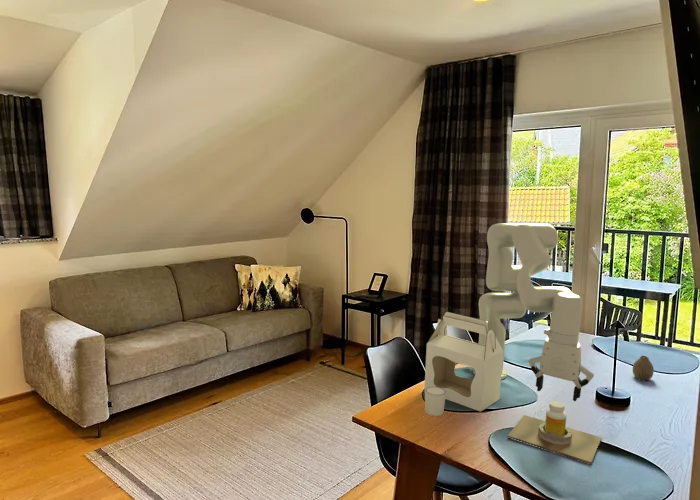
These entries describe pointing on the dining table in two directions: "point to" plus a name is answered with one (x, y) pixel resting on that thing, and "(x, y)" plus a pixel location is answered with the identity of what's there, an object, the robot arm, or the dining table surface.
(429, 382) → the gable box
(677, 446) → the dining table surface
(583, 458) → the socket board
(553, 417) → the supplement bottle
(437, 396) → the white cup
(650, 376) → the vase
